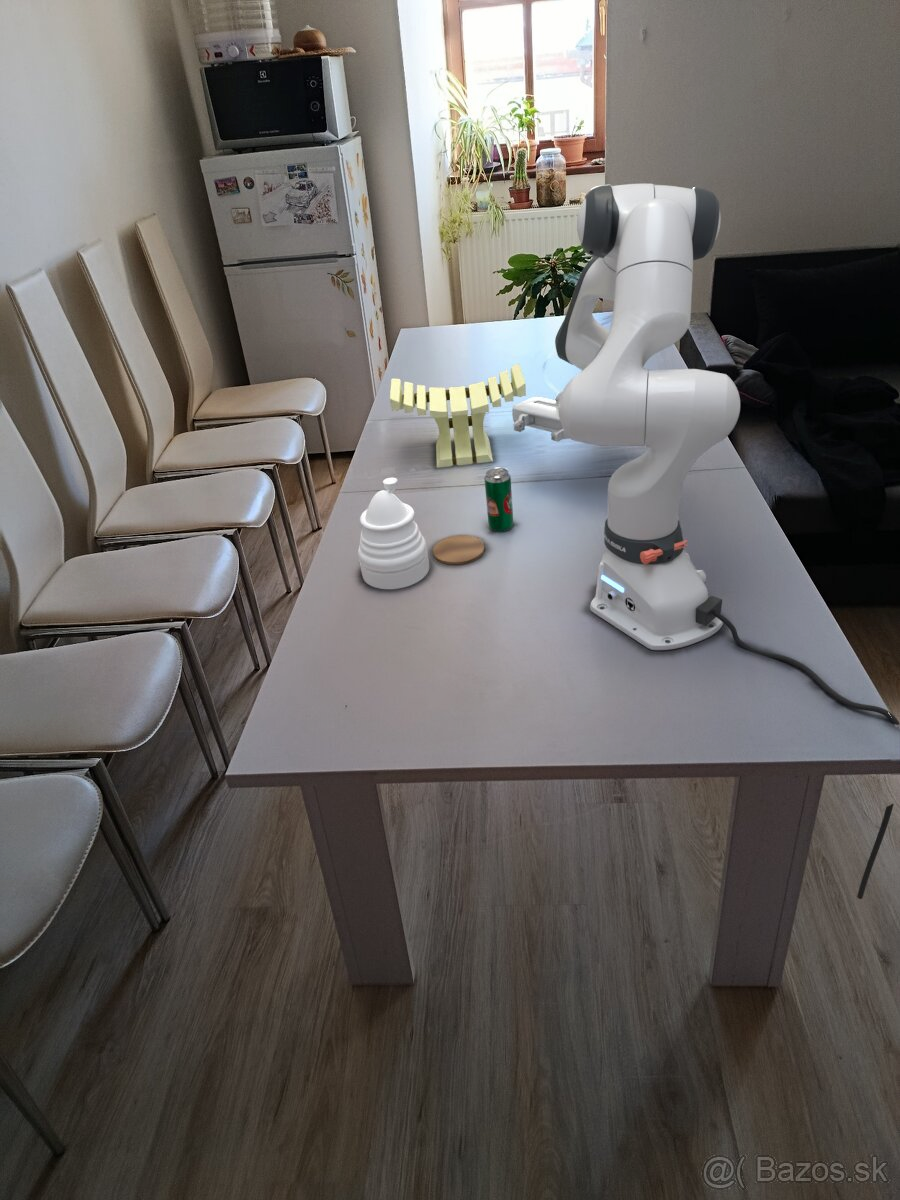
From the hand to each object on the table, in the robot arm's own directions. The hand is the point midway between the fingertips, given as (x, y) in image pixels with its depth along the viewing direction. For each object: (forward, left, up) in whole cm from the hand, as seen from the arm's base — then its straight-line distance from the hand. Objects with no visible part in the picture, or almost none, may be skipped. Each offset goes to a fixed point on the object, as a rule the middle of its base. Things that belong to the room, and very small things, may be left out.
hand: (534, 432), depth 158 cm
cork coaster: (-9, +22, -15) cm, 28 cm away
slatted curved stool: (+33, +3, -16) cm, 36 cm away
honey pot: (-9, +35, -16) cm, 39 cm away
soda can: (-5, +11, -16) cm, 20 cm away
